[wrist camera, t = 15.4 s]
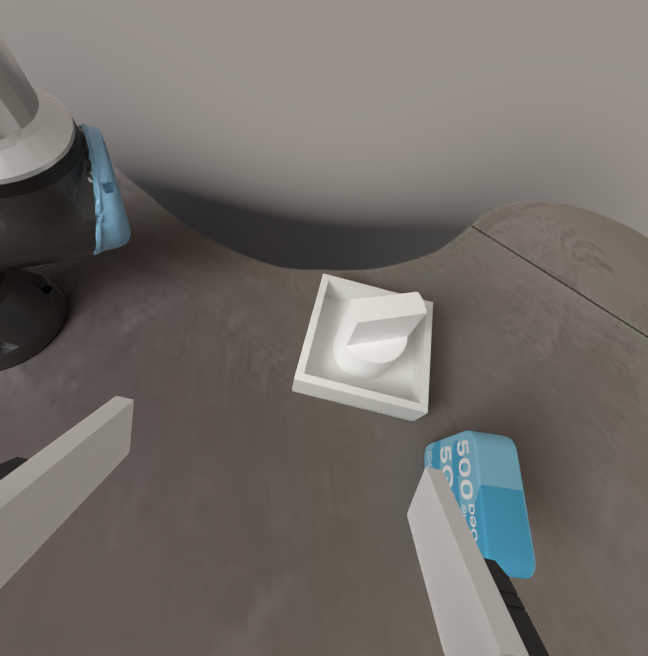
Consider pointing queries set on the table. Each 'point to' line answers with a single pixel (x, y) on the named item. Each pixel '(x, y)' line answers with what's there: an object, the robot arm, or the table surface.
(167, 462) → the table surface
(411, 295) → the base with upright slab
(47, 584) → the table surface
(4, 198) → the robot arm
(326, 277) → the bin
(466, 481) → the data package
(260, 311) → the table surface
